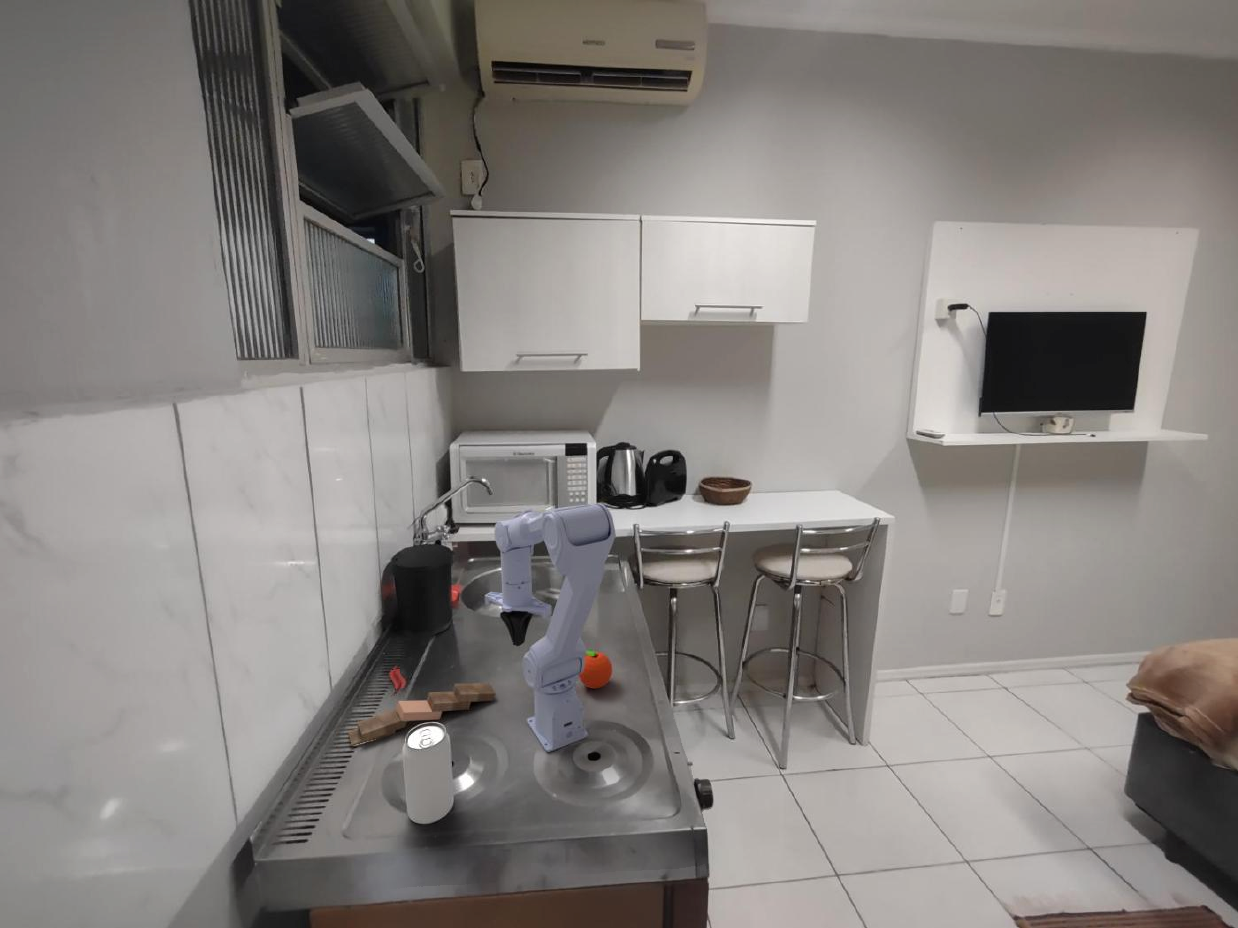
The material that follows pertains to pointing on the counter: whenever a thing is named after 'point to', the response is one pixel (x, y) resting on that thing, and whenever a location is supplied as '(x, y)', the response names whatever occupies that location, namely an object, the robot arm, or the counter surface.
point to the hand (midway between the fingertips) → (518, 643)
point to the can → (428, 773)
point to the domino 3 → (416, 711)
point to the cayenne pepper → (397, 679)
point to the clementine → (596, 670)
